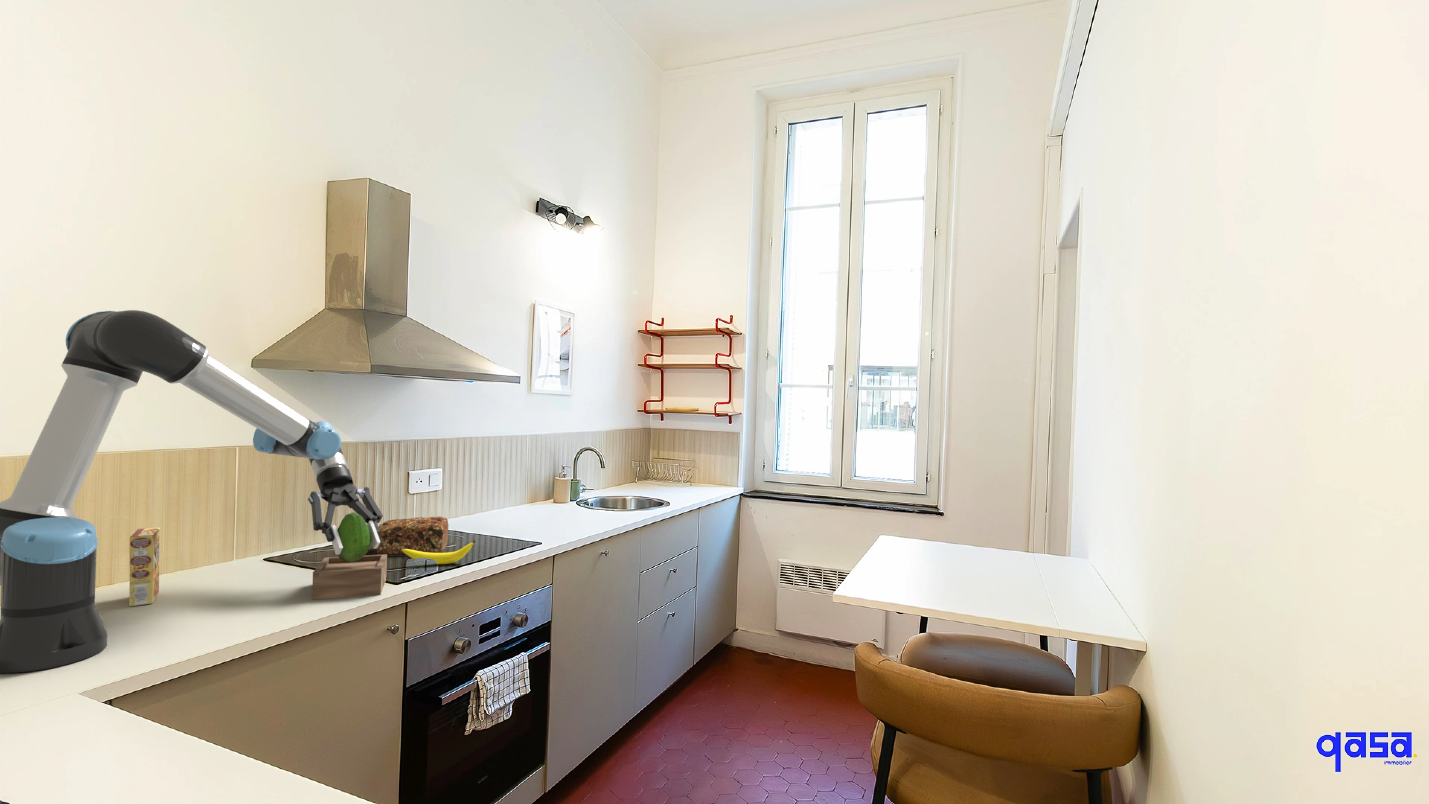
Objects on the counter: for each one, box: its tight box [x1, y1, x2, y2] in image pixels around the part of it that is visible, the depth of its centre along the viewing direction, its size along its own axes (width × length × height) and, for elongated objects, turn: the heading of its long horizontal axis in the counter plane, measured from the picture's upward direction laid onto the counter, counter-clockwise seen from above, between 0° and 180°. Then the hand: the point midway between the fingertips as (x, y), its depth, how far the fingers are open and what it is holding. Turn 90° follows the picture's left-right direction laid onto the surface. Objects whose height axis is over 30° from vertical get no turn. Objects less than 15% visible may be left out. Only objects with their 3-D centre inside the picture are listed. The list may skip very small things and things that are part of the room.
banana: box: [401, 540, 476, 565], centre depth 182 cm, size 3×19×6 cm, turn 111°
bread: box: [376, 516, 449, 556], centre depth 197 cm, size 19×11×10 cm, turn 102°
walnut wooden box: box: [311, 554, 388, 600], centre depth 159 cm, size 14×14×6 cm
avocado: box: [336, 511, 372, 562], centre depth 159 cm, size 8×8×12 cm
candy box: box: [128, 527, 161, 607], centre depth 146 cm, size 9×4×15 cm, turn 33°
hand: (358, 548), depth 157 cm, fingers closed on avocado, 8 cm apart
